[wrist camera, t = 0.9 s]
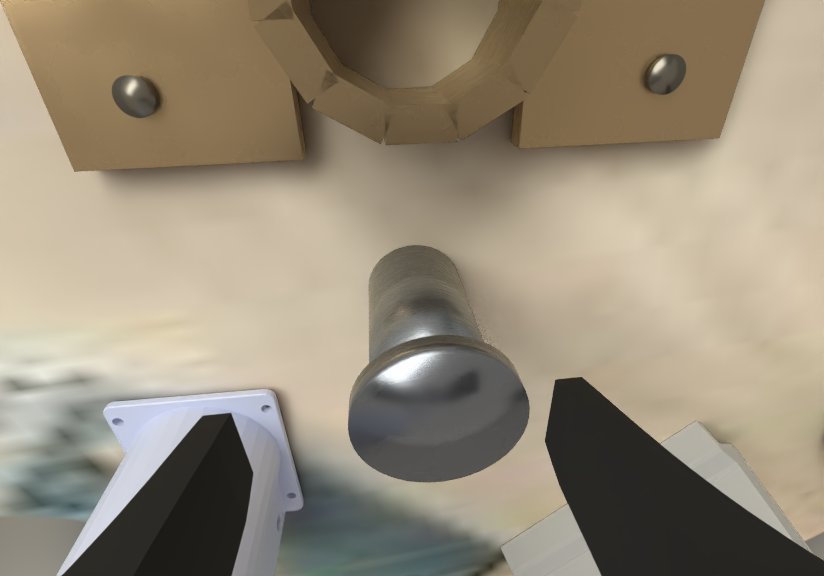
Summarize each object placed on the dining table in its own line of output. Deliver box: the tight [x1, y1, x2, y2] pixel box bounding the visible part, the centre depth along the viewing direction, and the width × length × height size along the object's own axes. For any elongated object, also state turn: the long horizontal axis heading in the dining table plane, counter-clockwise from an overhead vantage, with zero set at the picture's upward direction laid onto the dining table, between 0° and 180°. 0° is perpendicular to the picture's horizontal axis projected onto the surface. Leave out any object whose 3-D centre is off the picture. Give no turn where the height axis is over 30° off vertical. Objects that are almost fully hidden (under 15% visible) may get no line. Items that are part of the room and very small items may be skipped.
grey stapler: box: [501, 421, 813, 576], centre depth 26 cm, size 17×5×10 cm, turn 138°
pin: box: [348, 246, 530, 482], centre depth 16 cm, size 5×5×8 cm
